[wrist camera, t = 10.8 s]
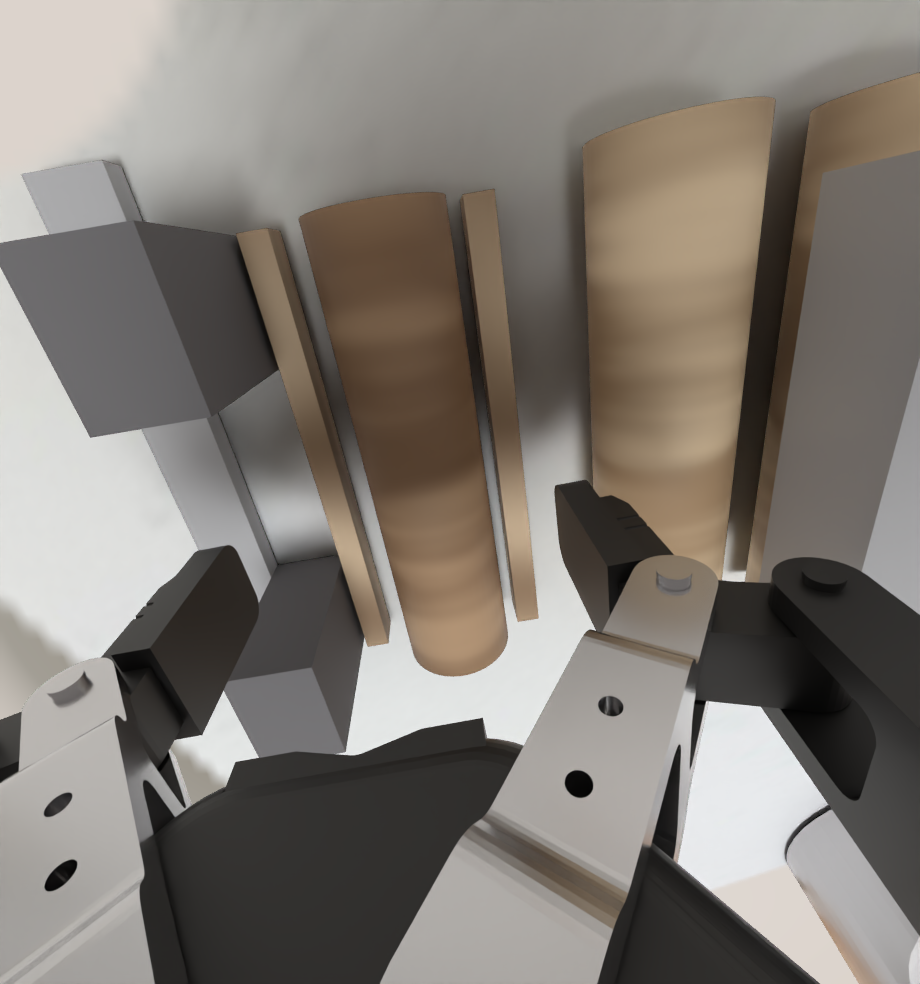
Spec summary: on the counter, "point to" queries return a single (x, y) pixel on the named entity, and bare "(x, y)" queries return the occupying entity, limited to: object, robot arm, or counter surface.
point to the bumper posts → (187, 421)
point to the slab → (856, 385)
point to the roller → (414, 416)
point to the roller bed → (625, 325)
